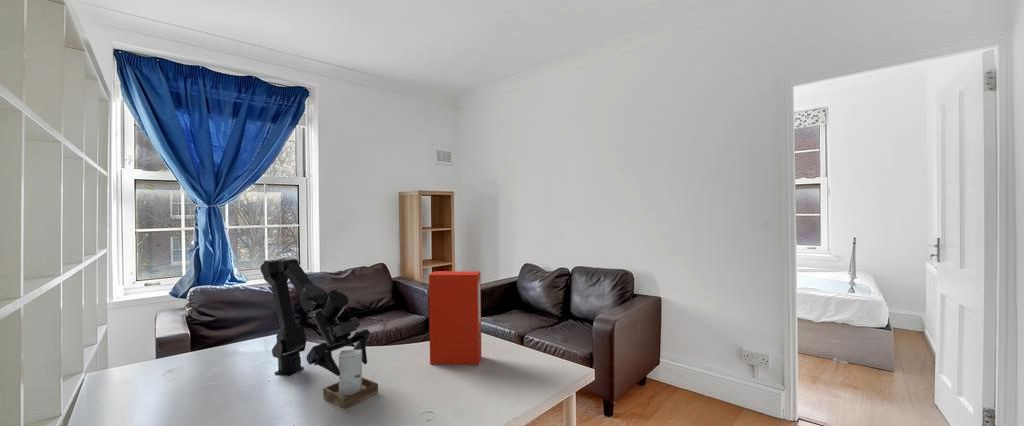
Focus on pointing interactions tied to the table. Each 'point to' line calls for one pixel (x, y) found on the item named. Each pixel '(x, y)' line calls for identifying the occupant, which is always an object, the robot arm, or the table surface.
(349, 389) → the skincare box
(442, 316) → the file binder
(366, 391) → the shallow wooden tray
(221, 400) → the table surface
